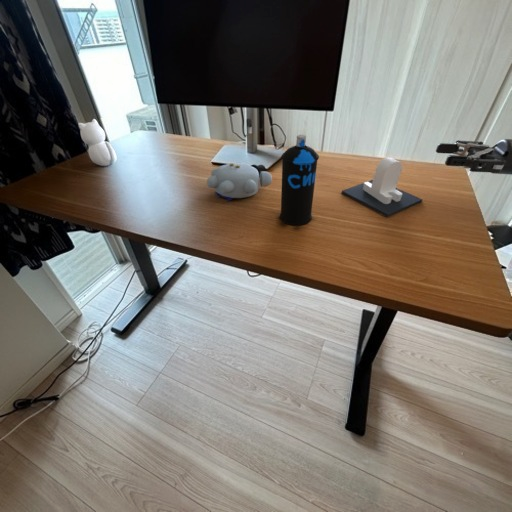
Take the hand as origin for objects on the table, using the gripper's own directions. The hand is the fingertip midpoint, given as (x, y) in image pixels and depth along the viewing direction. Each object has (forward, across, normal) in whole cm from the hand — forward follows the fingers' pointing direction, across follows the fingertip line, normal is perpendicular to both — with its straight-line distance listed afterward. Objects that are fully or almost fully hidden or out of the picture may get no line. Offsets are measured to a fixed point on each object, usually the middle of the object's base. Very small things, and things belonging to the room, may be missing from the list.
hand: (441, 153), depth 65 cm
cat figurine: (+108, -11, +13) cm, 110 cm away
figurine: (+51, +1, +13) cm, 53 cm away
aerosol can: (+33, +14, +13) cm, 38 cm away
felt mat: (+11, -1, +13) cm, 17 cm away
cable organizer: (+11, -1, +12) cm, 16 cm away
